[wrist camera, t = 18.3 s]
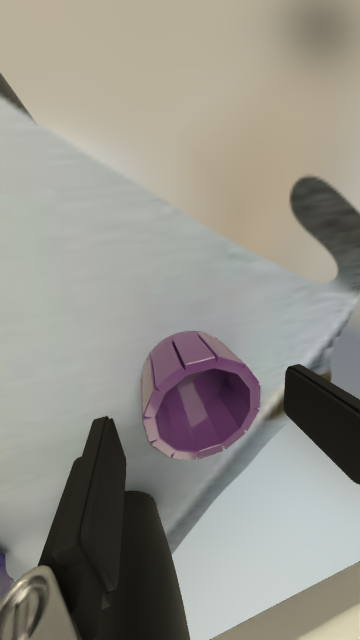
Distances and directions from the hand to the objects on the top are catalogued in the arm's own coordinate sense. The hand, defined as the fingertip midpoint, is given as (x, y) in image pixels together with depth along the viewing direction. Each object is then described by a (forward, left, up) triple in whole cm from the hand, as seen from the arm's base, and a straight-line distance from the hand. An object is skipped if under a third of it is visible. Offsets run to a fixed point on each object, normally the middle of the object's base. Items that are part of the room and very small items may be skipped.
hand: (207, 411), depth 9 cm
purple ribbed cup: (0, 0, -3) cm, 3 cm away
